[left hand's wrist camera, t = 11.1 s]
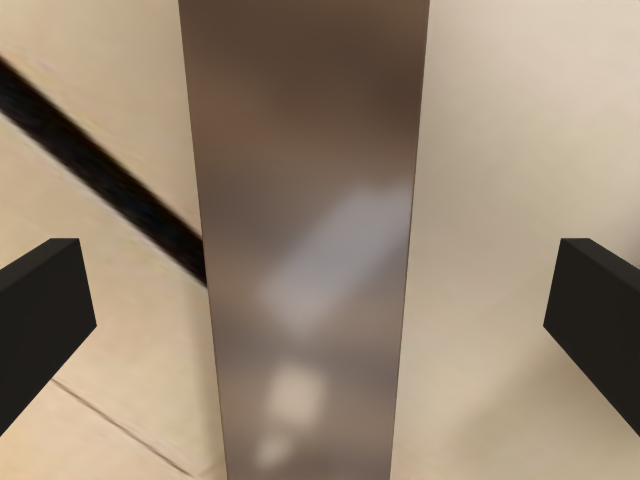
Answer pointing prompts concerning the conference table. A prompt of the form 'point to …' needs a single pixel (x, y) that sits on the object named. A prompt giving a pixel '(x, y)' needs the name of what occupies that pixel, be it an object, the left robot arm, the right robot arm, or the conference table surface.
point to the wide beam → (306, 222)
